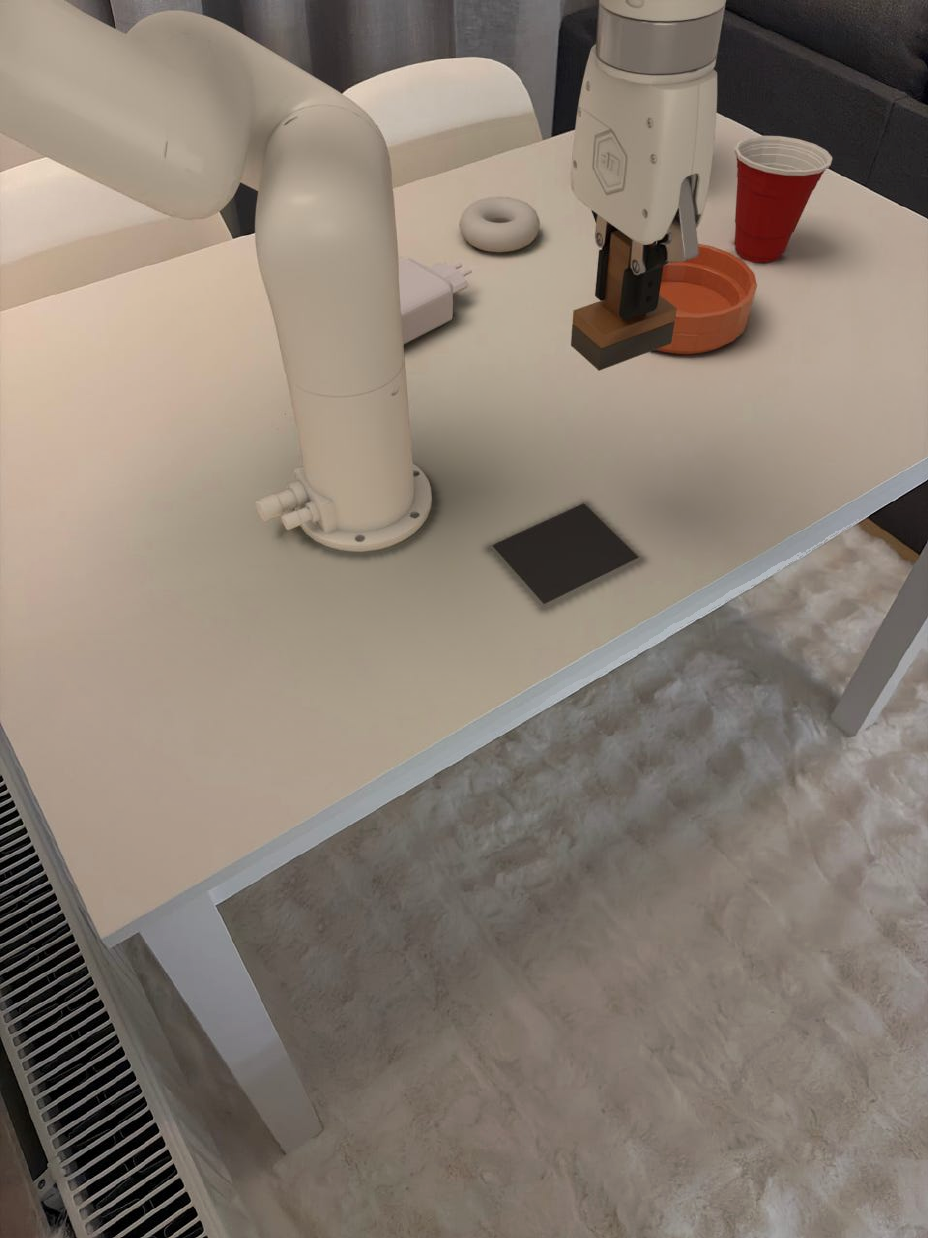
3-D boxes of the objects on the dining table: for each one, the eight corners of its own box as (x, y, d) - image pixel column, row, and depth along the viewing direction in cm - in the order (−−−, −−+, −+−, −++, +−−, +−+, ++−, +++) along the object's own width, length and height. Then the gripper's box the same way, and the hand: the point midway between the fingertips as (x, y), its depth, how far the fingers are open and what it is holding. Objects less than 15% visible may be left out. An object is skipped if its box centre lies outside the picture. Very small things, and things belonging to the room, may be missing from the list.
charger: (493, 302, 106) (392, 355, 99) (440, 271, 110) (340, 320, 104) (493, 264, 102) (389, 316, 96) (439, 234, 106) (335, 281, 100)
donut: (554, 232, 116) (489, 209, 119) (556, 206, 113) (489, 182, 117) (509, 267, 111) (443, 241, 114) (511, 240, 108) (443, 214, 112)
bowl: (668, 374, 96) (675, 332, 93) (582, 306, 105) (586, 266, 101) (774, 329, 101) (786, 288, 98) (685, 268, 110) (692, 228, 106)
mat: (543, 606, 76) (544, 603, 76) (492, 548, 81) (492, 545, 80) (638, 560, 80) (638, 556, 79) (583, 506, 84) (584, 502, 84)
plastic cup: (817, 242, 113) (847, 141, 104) (786, 282, 107) (815, 179, 98) (733, 219, 117) (755, 120, 108) (700, 257, 111) (720, 156, 102)
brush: (598, 371, 71) (610, 260, 64) (570, 345, 73) (578, 235, 66) (671, 343, 73) (690, 233, 66) (641, 319, 75) (656, 210, 68)
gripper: (536, 9, 60) (529, 270, 74) (690, 93, 51) (648, 373, 65) (630, -14, 62) (605, 245, 76) (794, 64, 53) (732, 340, 67)
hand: (625, 301), depth 70 cm, fingers closed on brush, 2 cm apart
